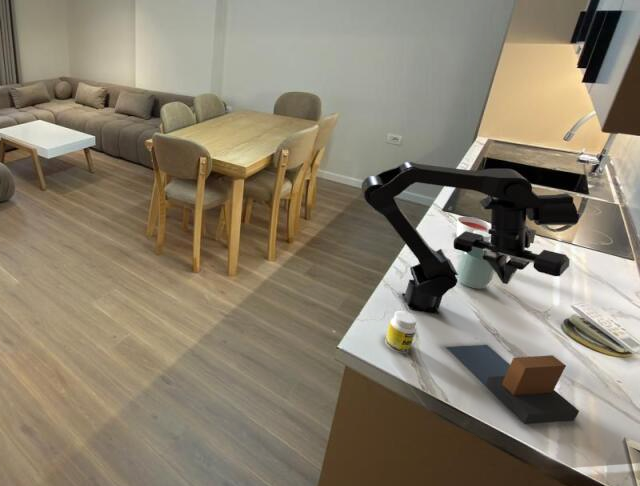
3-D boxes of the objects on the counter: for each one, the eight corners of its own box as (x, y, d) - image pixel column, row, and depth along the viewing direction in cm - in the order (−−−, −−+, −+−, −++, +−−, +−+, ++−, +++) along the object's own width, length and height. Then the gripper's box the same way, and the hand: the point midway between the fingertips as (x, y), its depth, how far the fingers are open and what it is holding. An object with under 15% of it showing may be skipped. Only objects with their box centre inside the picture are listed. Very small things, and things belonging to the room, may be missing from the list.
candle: (477, 234, 135) (482, 218, 133) (493, 248, 127) (499, 231, 125) (447, 231, 137) (452, 215, 135) (461, 245, 129) (467, 228, 127)
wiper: (484, 385, 80) (499, 350, 77) (531, 382, 81) (547, 347, 77) (524, 423, 73) (542, 386, 69) (574, 420, 73) (595, 383, 70)
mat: (444, 348, 90) (445, 346, 89) (486, 346, 90) (486, 344, 90) (523, 425, 73) (524, 423, 73) (573, 422, 73) (574, 420, 73)
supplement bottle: (401, 357, 87) (410, 327, 85) (380, 342, 91) (388, 313, 88) (413, 349, 90) (423, 320, 87) (392, 335, 93) (400, 306, 91)
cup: (489, 296, 106) (501, 265, 102) (452, 285, 110) (463, 255, 107) (487, 281, 112) (498, 251, 108) (452, 271, 116) (462, 242, 112)
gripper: (581, 222, 84) (576, 284, 88) (474, 202, 101) (473, 255, 105) (561, 242, 80) (556, 307, 84) (452, 218, 96) (452, 273, 100)
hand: (505, 283), depth 93 cm, fingers closed
